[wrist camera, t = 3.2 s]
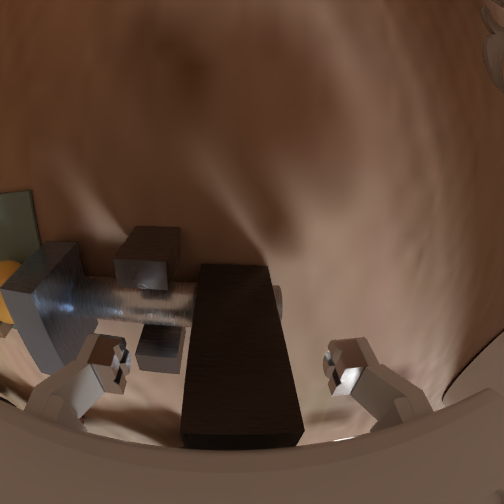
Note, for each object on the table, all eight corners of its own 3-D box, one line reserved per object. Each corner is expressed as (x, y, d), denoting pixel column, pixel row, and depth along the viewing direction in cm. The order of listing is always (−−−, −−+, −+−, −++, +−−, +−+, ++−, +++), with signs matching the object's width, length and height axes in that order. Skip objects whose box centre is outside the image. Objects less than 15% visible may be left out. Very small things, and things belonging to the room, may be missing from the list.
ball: (37, 250, 11) (1, 286, 8) (53, 302, 13) (26, 342, 10) (-1, 247, 11) (-34, 278, 8) (16, 296, 13) (-11, 330, 10)
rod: (281, 247, 12) (336, 409, 5) (268, 330, 15) (292, 471, 8) (49, 238, 11) (-47, 346, 4) (71, 316, 13) (17, 427, 6)
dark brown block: (179, 227, 12) (165, 261, 9) (185, 332, 15) (179, 374, 12) (136, 226, 12) (112, 259, 9) (150, 329, 14) (139, 370, 12)
